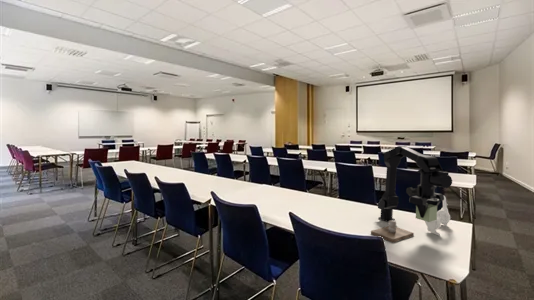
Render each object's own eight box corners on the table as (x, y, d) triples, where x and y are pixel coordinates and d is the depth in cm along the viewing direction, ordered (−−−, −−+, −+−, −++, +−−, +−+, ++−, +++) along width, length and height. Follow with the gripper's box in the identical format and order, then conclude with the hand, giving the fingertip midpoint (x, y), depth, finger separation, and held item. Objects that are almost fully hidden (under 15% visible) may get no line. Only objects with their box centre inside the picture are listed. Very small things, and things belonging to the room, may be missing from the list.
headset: (437, 223, 147) (438, 191, 146) (452, 226, 141) (453, 193, 140) (423, 231, 134) (424, 197, 133) (439, 236, 129) (440, 200, 127)
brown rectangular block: (391, 228, 139) (391, 215, 139) (413, 235, 129) (414, 222, 128) (370, 233, 131) (371, 220, 131) (392, 242, 121) (393, 228, 120)
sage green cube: (423, 216, 128) (423, 202, 128) (436, 219, 123) (437, 205, 123) (415, 218, 125) (416, 204, 125) (429, 222, 120) (429, 207, 119)
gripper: (421, 179, 135) (420, 209, 136) (399, 182, 125) (397, 214, 126) (445, 182, 125) (443, 215, 126) (422, 186, 116) (421, 221, 117)
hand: (426, 216), depth 124 cm, fingers closed on sage green cube, 6 cm apart
